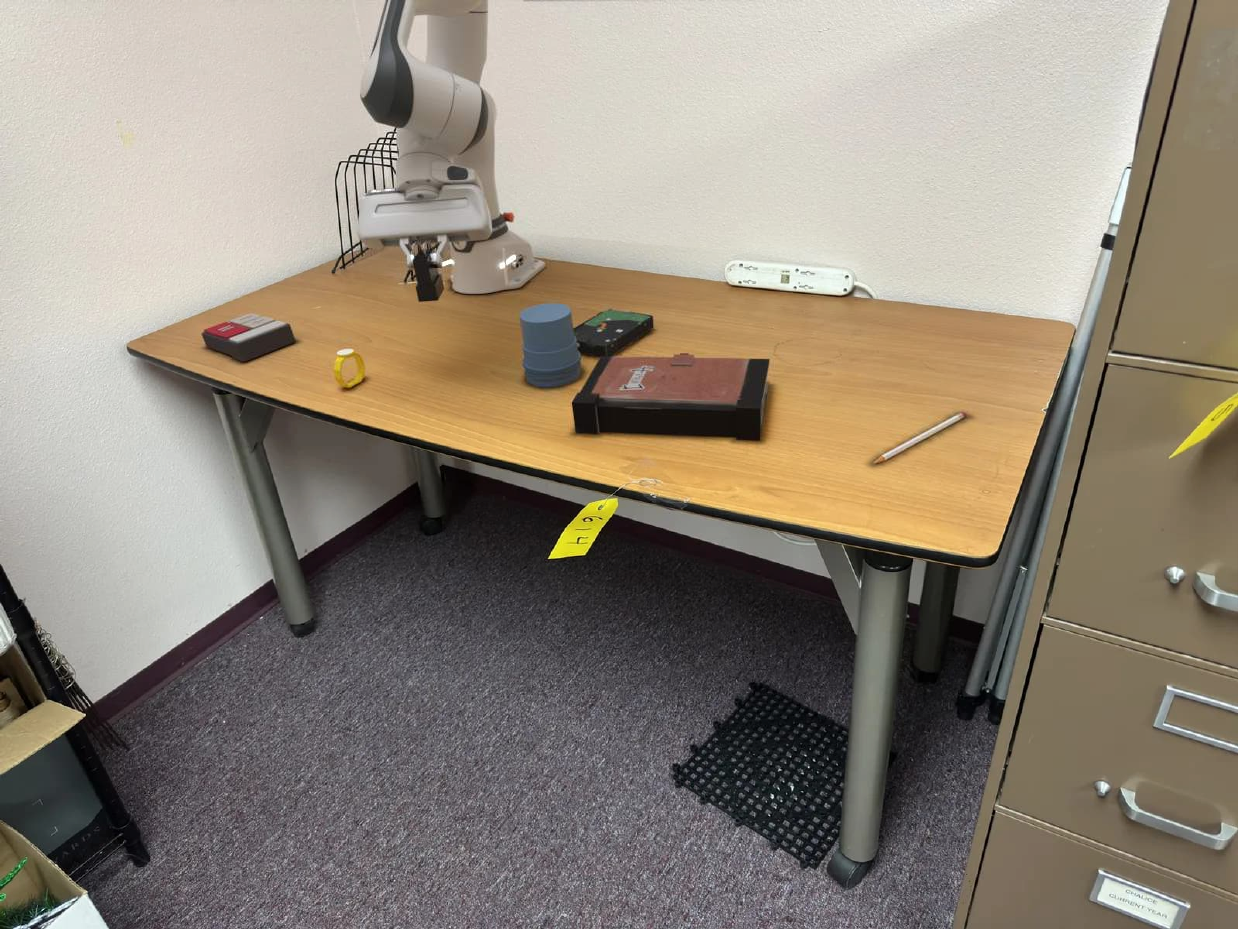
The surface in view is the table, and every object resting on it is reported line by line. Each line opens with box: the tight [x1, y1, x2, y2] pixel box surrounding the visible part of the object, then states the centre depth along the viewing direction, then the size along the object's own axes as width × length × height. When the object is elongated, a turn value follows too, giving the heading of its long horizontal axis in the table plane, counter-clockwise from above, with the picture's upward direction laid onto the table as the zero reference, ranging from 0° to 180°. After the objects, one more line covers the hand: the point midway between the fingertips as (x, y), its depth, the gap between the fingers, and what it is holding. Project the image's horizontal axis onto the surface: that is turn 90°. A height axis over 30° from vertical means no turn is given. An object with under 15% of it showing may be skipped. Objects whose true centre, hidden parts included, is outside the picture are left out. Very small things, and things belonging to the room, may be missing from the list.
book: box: [571, 352, 771, 442], centre depth 120 cm, size 26×18×5 cm
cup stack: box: [518, 302, 582, 388], centre depth 132 cm, size 10×10×11 cm
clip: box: [412, 237, 445, 303], centre depth 124 cm, size 5×3×8 cm, turn 0°
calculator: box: [201, 312, 296, 363], centre depth 158 cm, size 11×4×15 cm
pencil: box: [873, 411, 967, 464], centre depth 108 cm, size 1×19×1 cm, turn 125°
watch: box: [333, 348, 366, 389], centre depth 137 cm, size 6×3×6 cm, turn 156°
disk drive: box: [573, 308, 654, 358], centre depth 145 cm, size 10×3×15 cm
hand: (425, 267), depth 124 cm, fingers closed on clip, 2 cm apart
